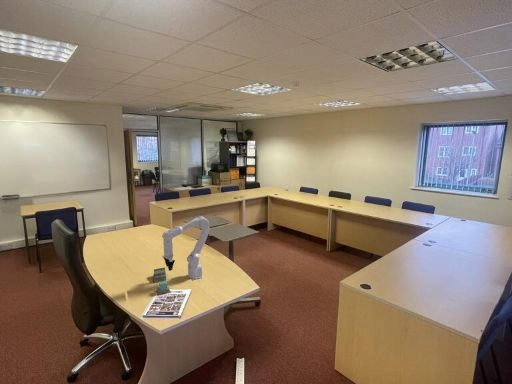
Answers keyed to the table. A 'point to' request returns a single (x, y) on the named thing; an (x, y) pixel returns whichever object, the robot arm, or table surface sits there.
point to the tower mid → (162, 290)
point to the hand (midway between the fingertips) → (169, 268)
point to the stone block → (159, 275)
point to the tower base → (163, 293)
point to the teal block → (163, 285)
